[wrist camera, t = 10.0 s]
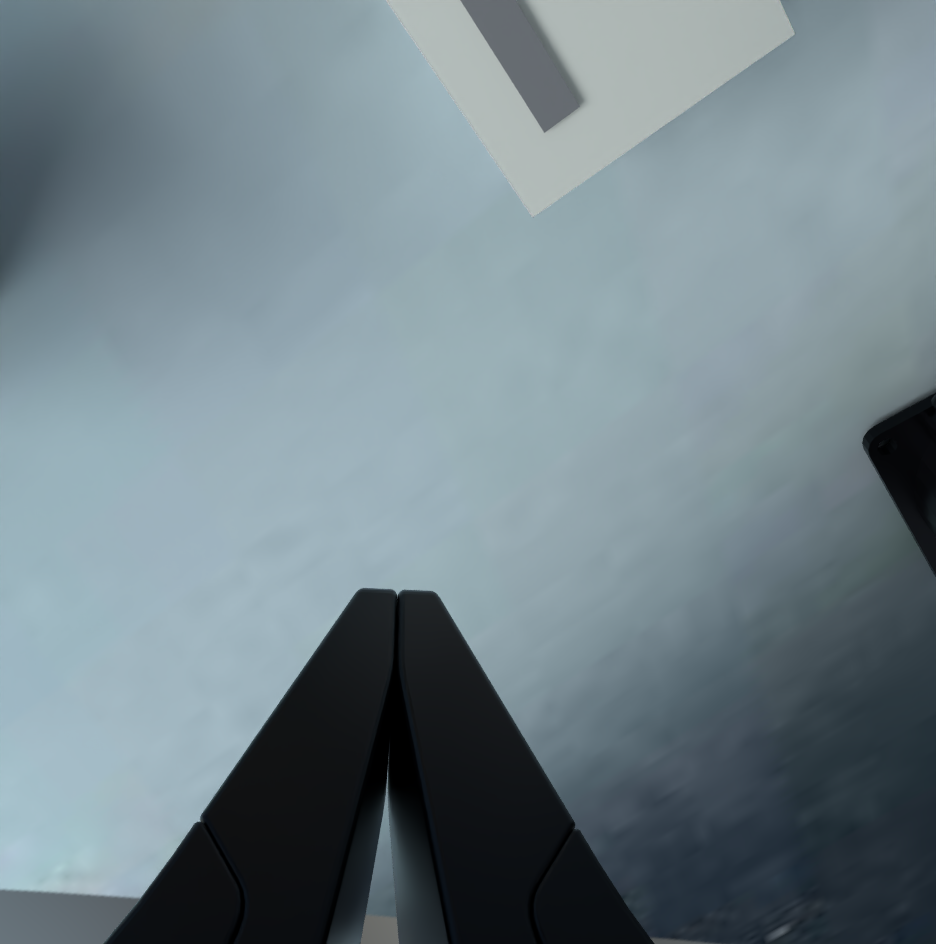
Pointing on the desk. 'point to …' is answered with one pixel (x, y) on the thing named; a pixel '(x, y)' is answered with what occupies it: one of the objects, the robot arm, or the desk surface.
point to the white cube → (582, 73)
